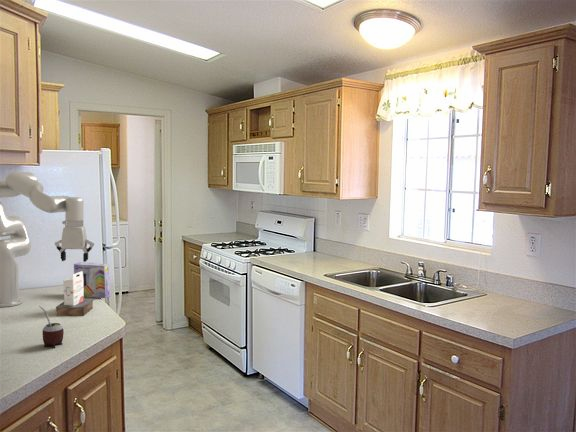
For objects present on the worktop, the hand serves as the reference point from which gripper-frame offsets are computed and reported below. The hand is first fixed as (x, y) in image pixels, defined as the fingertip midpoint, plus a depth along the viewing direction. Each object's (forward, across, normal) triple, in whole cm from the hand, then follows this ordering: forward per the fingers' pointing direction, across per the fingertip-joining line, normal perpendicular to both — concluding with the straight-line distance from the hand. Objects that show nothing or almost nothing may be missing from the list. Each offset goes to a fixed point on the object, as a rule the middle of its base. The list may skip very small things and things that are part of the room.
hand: (74, 260), depth 217 cm
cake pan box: (+24, -1, +27) cm, 37 cm away
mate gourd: (+24, +7, -43) cm, 50 cm away
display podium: (+24, 0, 0) cm, 24 cm away
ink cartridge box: (+20, 0, 0) cm, 20 cm away
